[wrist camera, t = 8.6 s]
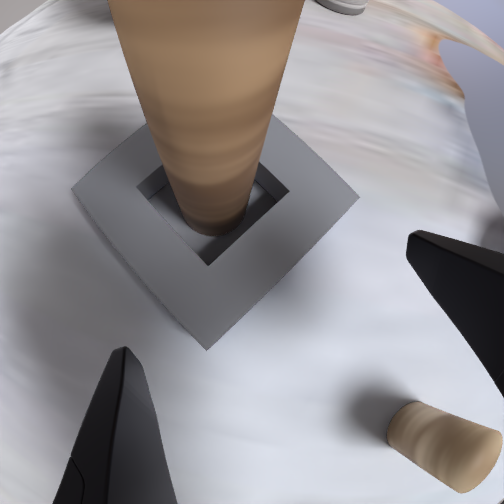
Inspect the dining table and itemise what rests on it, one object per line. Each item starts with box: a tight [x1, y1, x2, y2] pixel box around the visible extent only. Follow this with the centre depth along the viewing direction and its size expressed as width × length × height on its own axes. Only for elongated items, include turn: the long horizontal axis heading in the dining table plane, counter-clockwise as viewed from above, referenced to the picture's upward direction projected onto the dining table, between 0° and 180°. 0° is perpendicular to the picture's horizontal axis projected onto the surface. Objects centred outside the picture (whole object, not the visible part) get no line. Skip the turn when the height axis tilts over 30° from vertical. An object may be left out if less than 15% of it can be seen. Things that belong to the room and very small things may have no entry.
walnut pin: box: [107, 0, 305, 236], centre depth 11 cm, size 4×4×16 cm
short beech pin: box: [387, 402, 503, 493], centre depth 13 cm, size 4×4×8 cm
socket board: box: [71, 114, 360, 351], centre depth 17 cm, size 12×12×2 cm
